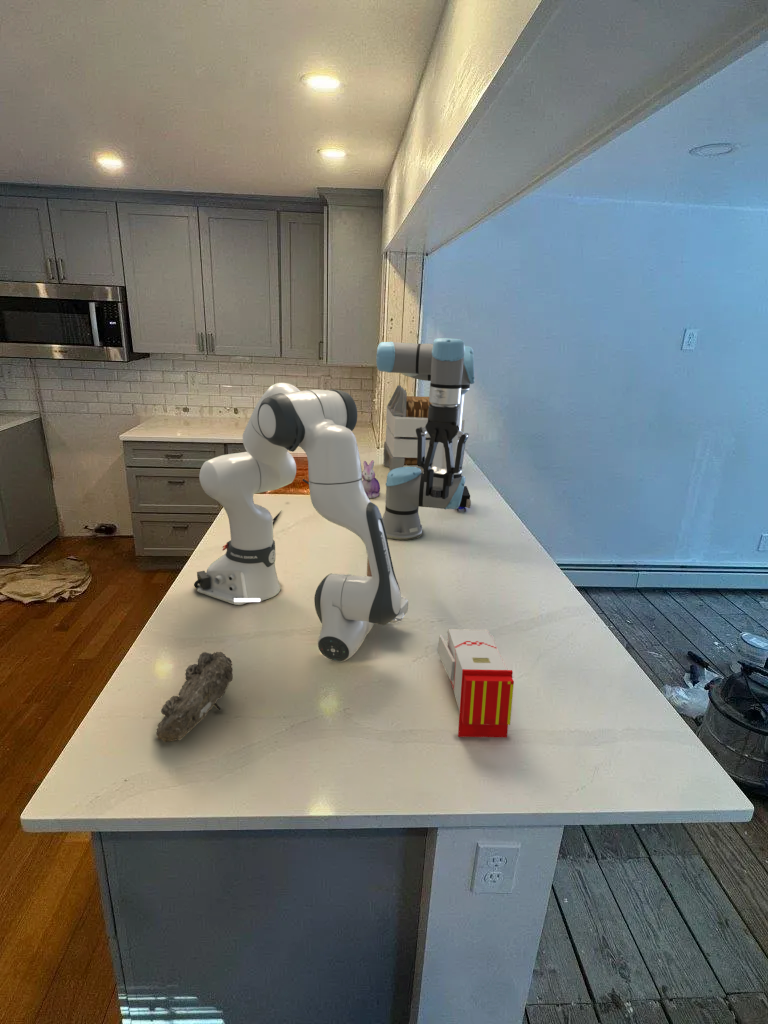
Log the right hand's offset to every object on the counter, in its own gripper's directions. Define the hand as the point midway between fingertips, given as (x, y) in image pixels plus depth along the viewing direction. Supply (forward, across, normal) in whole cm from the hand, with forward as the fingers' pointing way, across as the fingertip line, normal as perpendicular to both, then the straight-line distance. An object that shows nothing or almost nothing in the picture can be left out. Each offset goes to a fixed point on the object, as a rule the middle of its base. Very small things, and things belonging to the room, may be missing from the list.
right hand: (436, 495), depth 146 cm
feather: (+30, -74, +32) cm, 85 cm away
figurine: (+30, -56, +71) cm, 95 cm away
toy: (+30, +23, -33) cm, 50 cm away
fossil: (+30, -22, -64) cm, 74 cm away
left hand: (+23, -10, -14) cm, 29 cm away
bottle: (+30, -10, -14) cm, 34 cm away
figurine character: (+30, -18, +78) cm, 85 cm away
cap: (-2, 0, 0) cm, 2 cm away
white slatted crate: (+29, -52, +116) cm, 130 cm away
